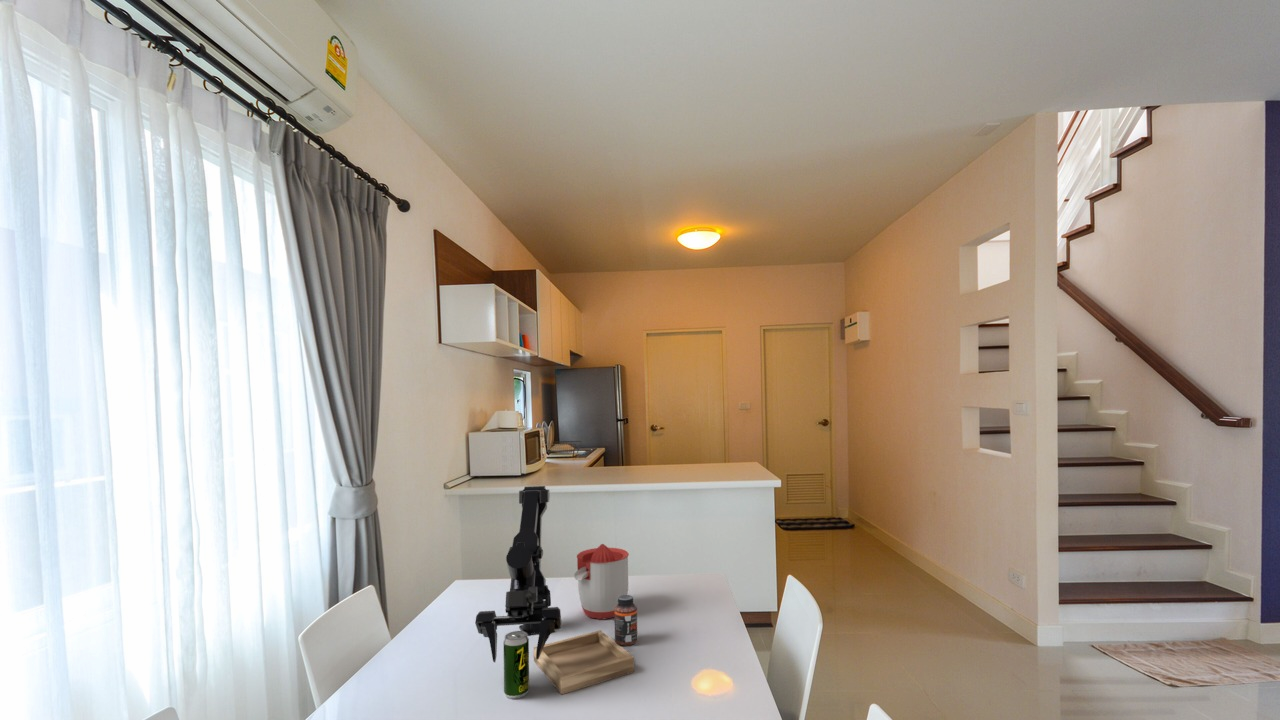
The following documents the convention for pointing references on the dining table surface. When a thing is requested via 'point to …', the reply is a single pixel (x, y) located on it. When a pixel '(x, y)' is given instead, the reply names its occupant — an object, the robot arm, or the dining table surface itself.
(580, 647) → the wooden tray
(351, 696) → the dining table surface
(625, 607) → the supplement bottle
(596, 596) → the citrus juicer
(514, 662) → the beer can
